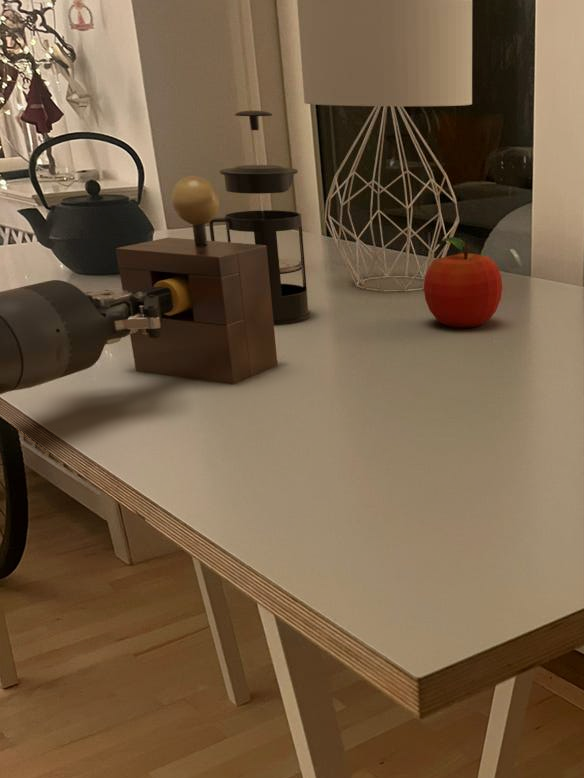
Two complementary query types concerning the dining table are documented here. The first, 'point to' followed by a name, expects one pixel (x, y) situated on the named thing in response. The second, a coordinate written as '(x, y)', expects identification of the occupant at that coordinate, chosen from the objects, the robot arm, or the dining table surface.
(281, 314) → the french press
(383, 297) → the dining table surface
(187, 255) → the switch box
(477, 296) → the fruit
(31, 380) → the robot arm
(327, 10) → the table lamp
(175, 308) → the button
